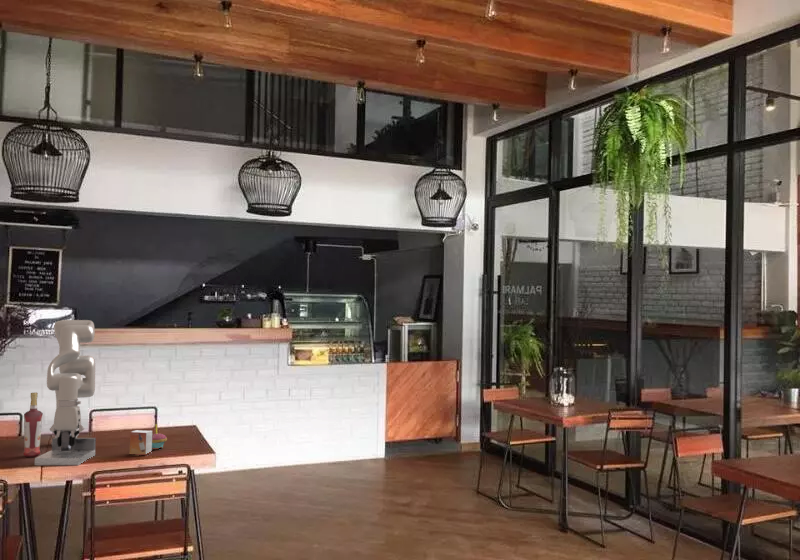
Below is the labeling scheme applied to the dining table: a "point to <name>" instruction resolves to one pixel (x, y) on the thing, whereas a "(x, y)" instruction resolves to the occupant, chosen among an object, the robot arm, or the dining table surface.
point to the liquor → (32, 429)
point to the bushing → (65, 440)
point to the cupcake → (158, 439)
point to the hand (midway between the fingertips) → (66, 445)
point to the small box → (140, 442)
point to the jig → (68, 453)
